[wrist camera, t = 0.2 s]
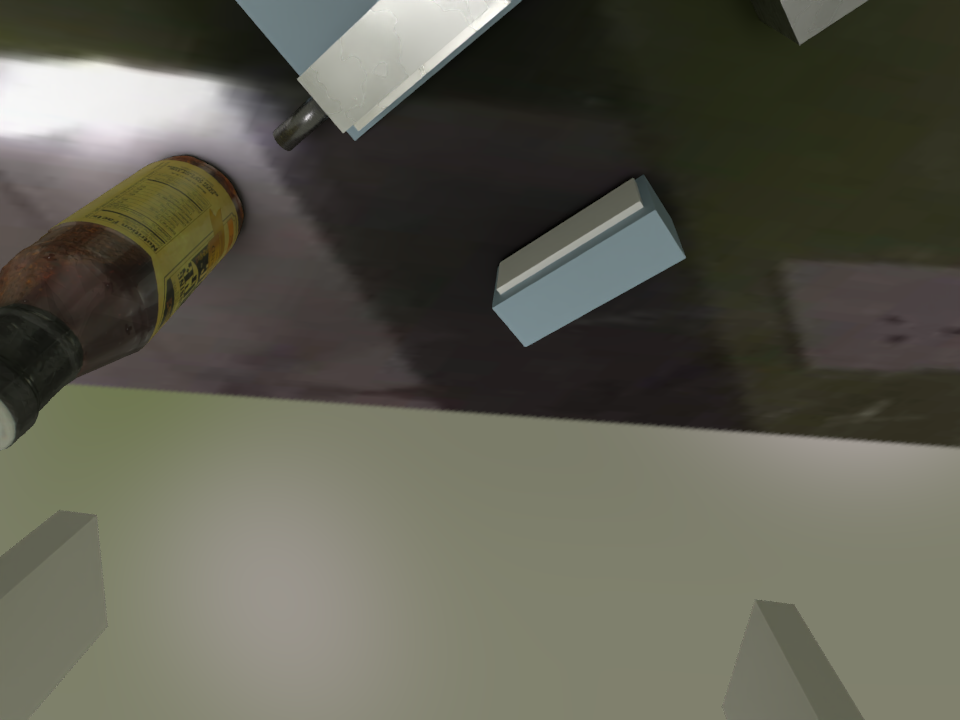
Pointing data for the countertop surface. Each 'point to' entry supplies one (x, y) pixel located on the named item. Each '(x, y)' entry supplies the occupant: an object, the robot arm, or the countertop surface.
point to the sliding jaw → (381, 61)
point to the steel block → (802, 15)
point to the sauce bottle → (108, 280)
